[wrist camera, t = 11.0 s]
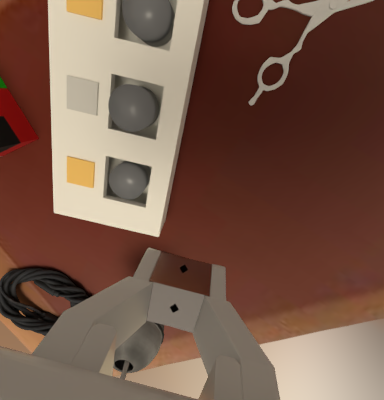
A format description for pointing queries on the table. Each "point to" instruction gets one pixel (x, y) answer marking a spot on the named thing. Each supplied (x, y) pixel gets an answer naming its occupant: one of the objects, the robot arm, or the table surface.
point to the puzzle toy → (13, 124)
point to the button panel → (99, 112)
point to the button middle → (133, 107)
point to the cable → (36, 321)
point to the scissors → (319, 10)
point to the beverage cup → (139, 348)
